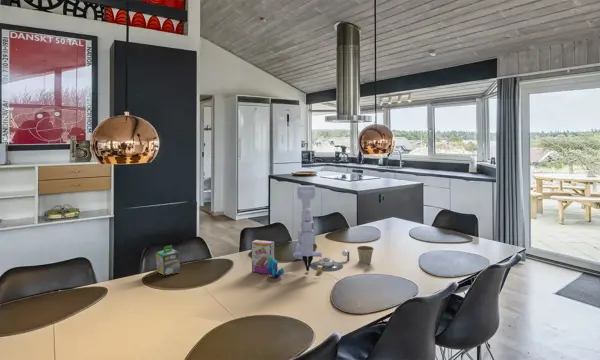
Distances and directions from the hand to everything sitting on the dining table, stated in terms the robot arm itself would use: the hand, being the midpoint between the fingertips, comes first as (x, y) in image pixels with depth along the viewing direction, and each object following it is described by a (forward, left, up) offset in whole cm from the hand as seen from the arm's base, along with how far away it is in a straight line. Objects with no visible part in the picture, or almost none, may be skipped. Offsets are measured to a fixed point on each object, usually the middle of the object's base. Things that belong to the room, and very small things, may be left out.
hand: (307, 270), depth 190 cm
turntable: (+6, +11, -1) cm, 13 cm away
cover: (+6, +13, -1) cm, 14 cm away
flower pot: (+24, +28, -2) cm, 37 cm away
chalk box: (-69, -24, -2) cm, 73 cm away
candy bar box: (-23, -5, -2) cm, 24 cm away
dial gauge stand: (+14, +27, -2) cm, 30 cm away
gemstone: (-13, -12, -2) cm, 18 cm away
